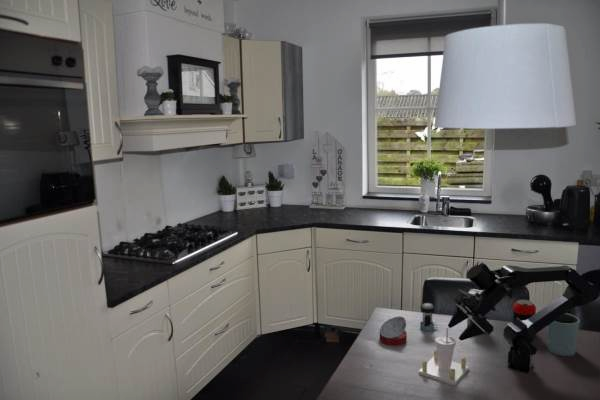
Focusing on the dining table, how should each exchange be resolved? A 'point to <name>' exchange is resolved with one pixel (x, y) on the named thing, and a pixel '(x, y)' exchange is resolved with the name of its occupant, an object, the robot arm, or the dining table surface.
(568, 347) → the teal cylindrical pot
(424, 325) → the push button
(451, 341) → the smoothie
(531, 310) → the soda can
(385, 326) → the canned food
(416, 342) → the dining table surface
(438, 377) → the pin plate
